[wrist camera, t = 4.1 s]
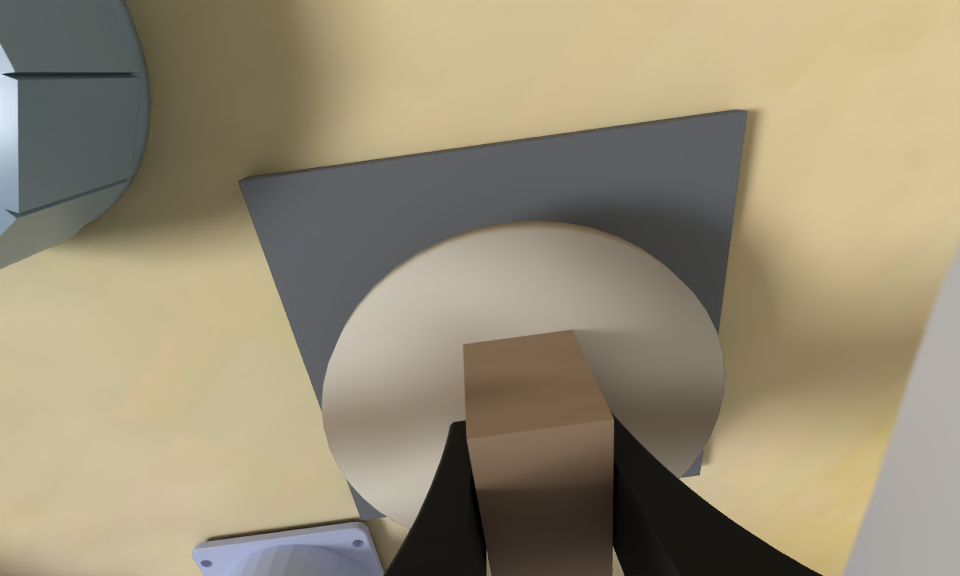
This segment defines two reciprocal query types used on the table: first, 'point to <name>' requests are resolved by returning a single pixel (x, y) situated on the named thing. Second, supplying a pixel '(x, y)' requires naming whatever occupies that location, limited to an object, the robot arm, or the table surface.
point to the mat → (496, 214)
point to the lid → (523, 384)
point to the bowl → (66, 117)
